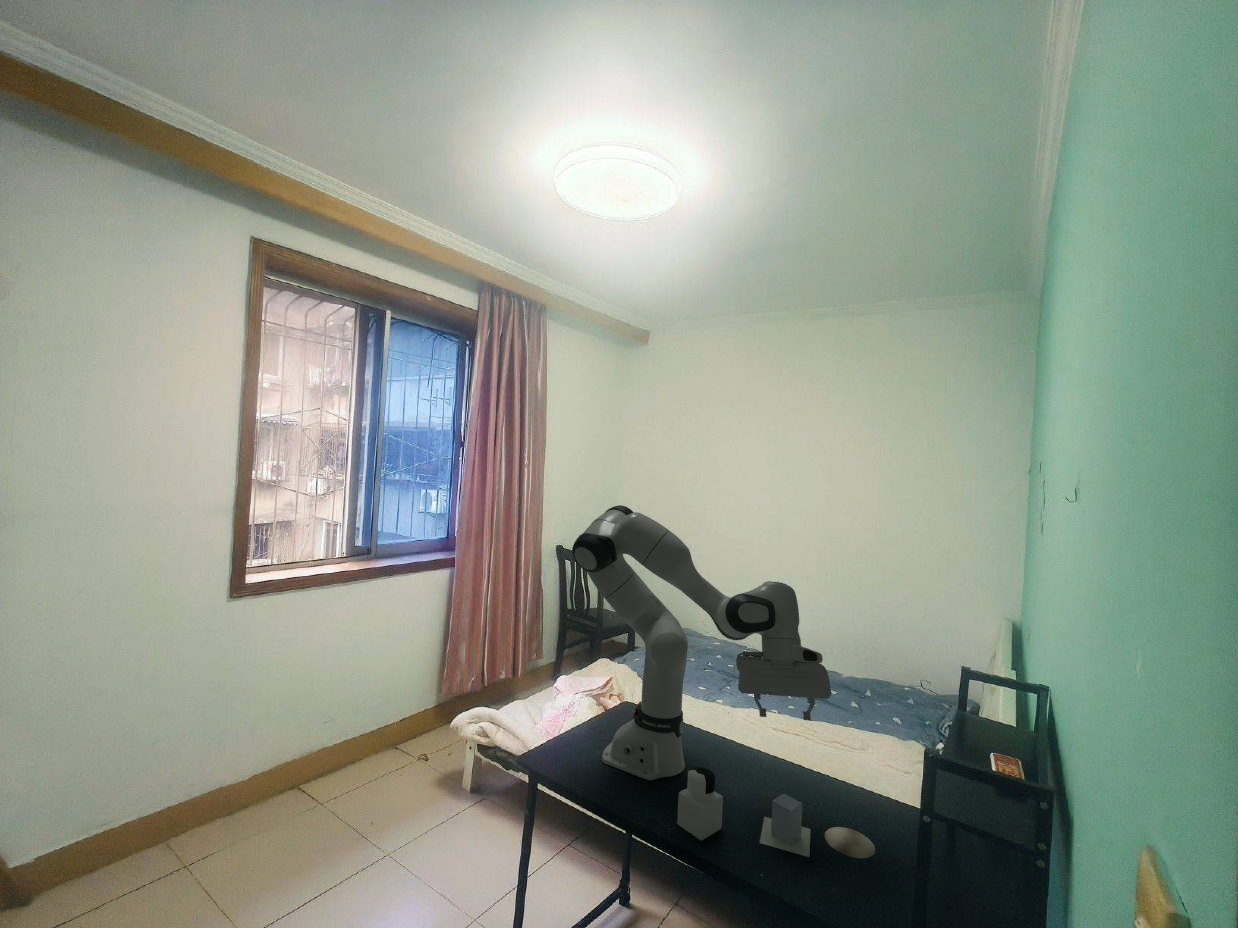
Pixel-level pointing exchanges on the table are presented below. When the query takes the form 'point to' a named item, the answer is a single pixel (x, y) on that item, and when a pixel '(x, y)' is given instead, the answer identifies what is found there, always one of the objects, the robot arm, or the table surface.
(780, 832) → the grey block
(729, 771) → the table surface
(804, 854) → the sage mat
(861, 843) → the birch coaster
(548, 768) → the table surface
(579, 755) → the table surface
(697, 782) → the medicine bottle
